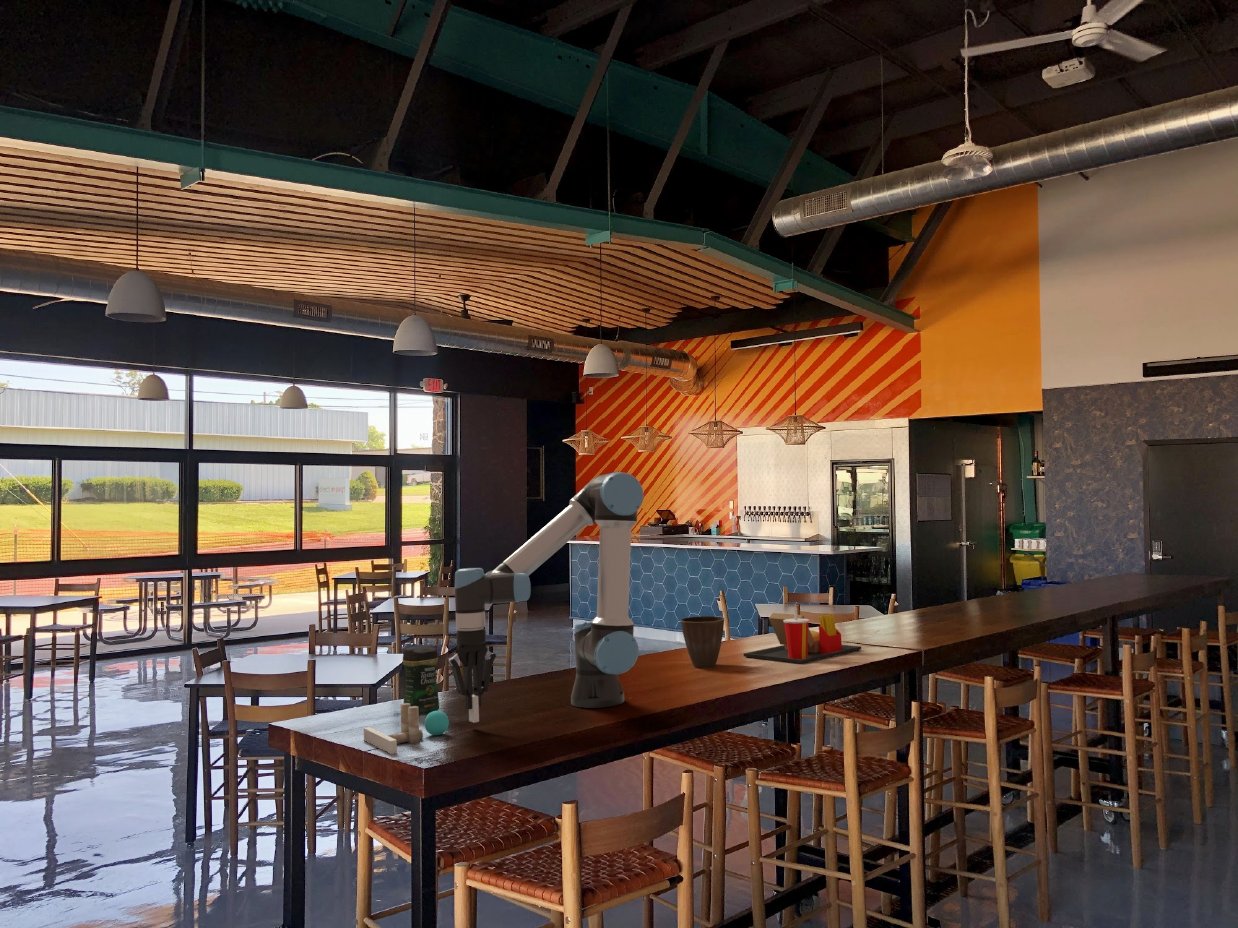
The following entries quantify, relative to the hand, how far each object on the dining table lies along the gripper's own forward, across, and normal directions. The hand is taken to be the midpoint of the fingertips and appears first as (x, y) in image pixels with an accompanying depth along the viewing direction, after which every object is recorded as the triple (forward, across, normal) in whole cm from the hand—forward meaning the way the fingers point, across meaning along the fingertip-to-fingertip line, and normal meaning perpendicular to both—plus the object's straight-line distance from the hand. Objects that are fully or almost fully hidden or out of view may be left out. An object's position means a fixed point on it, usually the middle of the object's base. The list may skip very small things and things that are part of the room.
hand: (474, 721), depth 237 cm
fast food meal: (+3, -138, -18) cm, 140 cm away
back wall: (+2, +25, 0) cm, 25 cm away
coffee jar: (+2, +2, -29) cm, 29 cm away
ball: (-1, +10, -1) cm, 10 cm away
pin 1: (+2, +17, -2) cm, 18 cm away
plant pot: (+2, -99, -26) cm, 102 cm away
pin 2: (+2, +17, +2) cm, 18 cm away
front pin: (+1, +14, 0) cm, 15 cm away
